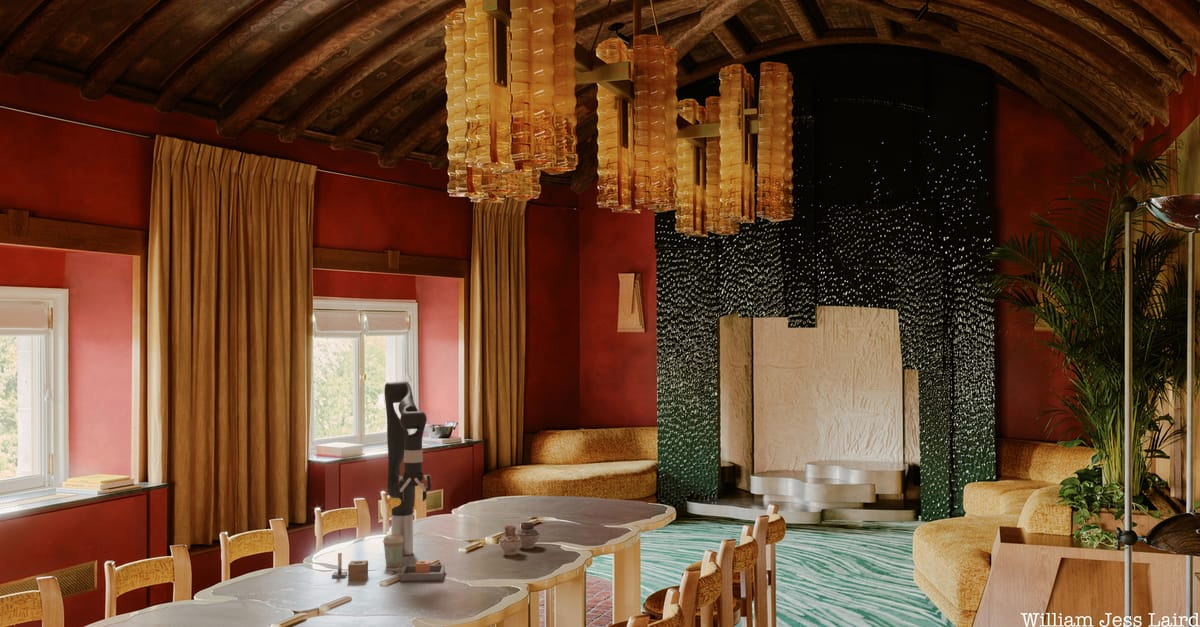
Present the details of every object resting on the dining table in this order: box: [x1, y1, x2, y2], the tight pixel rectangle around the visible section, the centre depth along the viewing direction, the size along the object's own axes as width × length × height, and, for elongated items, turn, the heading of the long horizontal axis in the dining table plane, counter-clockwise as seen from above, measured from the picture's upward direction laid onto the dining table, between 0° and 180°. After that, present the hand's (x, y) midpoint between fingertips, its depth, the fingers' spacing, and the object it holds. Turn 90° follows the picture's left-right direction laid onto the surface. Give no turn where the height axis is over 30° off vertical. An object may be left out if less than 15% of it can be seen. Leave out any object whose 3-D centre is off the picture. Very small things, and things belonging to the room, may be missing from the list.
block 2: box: [415, 560, 431, 574], centre depth 361 cm, size 5×5×5 cm
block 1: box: [347, 560, 369, 582], centre depth 359 cm, size 6×6×7 cm
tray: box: [399, 564, 446, 583], centre depth 361 cm, size 14×16×3 cm
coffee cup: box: [382, 534, 404, 568], centre depth 380 cm, size 8×9×12 cm
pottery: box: [498, 521, 541, 556], centre depth 406 cm, size 11×25×12 cm, turn 154°
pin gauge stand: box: [331, 552, 348, 579], centre depth 363 cm, size 5×5×9 cm
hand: (413, 500), depth 372 cm, fingers open, 8 cm apart
